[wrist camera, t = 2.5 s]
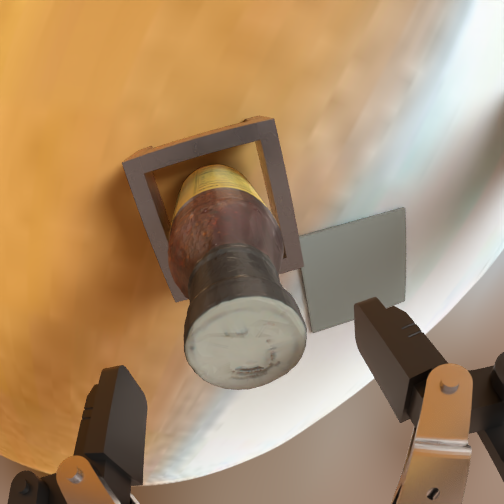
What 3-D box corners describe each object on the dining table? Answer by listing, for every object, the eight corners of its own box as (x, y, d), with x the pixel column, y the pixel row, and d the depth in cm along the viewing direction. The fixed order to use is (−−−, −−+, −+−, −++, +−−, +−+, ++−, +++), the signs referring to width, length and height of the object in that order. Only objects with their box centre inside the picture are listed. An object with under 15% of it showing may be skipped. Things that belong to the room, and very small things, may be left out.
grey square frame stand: (259, 115, 25) (273, 118, 20) (286, 236, 31) (304, 266, 25) (138, 150, 25) (121, 162, 20) (179, 266, 30) (175, 302, 25)
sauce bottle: (231, 239, 30) (274, 429, 12) (167, 213, 28) (125, 396, 10) (265, 176, 28) (372, 313, 10) (199, 145, 26) (190, 241, 8)
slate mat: (403, 207, 31) (405, 208, 31) (403, 299, 36) (404, 301, 36) (295, 237, 31) (296, 238, 30) (311, 331, 36) (312, 333, 36)
